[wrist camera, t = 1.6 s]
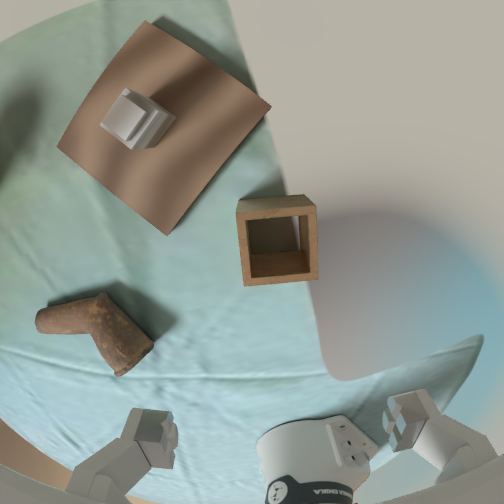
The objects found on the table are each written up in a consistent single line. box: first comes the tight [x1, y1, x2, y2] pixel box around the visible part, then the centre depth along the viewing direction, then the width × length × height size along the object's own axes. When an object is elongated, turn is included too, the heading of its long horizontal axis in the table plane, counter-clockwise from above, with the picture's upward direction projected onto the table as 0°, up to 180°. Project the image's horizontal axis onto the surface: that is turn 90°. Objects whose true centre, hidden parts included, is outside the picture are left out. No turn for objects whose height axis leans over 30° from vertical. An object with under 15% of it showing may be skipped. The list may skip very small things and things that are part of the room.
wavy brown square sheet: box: [57, 21, 271, 236], centre depth 24 cm, size 16×16×8 cm
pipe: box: [35, 292, 154, 376], centre depth 34 cm, size 6×17×10 cm
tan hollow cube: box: [236, 194, 318, 286], centre depth 29 cm, size 6×6×6 cm
